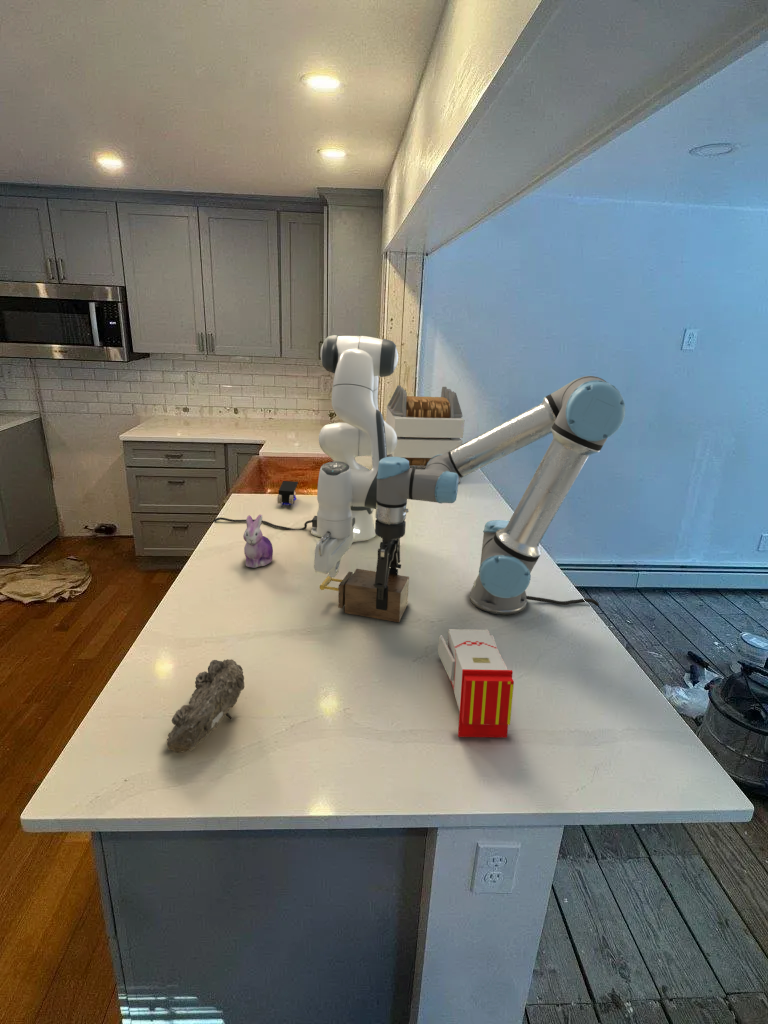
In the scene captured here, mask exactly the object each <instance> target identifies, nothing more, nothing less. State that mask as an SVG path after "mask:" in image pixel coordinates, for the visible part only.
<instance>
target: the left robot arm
mask: <svg viewBox="0 0 768 1024" xmlns="http://www.w3.org/2000/svg"><path fill="white" fill-rule="evenodd" d="M319 352H320V354H319V355H320V356H319V357H320V361H321V364H322V368H323V369H324V370H325V371H326V372H329V373H332V374H334V376H333V381H332V389H331V407H332V408H331V409H332V410H333V412H334V414H335V415H336V416H337V417H338V418H339V420H341V421H342V422H333V423H328V424H325V425H323V427H321V429H320V431H319V433H318V444H319V447H320V449H321V450H322V452H323V453H324V454H325V455H326V456H328V457H329V458H330V459H331V460H332V461H327V462H326V463H323V464H322V465H321V466H320V469H319V472H318V479H317V491H316V492H317V493H316V500H317V503H318V509H317V512H316V515H314V516H313V517H312V519H310V520H307V521H305V522H304V526H303V527H301V528H291V527H287V526H284V525H283V526H282V525H278V524H277V525H276V524H274V523H271V522H268V521H266V520H263V519H262V522H261V524H265V525H267V526H270V527H273V528H276V529H282V530H286V531H304V530H306V529H307V528H308V524H311V527H312V528H311V530H310V533H311V536H315V537H319V538H320V539H319V540H318V541H317V543H316V544H315V546H314V547H315V548H314V557H313V560H314V561H313V570H314V572H315V573H317V574H322V575H323V574H324V575H327V574H328V576H329V577H332V578H336V576H337V575H338V574H339V573H340V565H341V560H342V558H343V557H344V555H345V554H346V553H347V552H348V551H349V549H351V548H352V544H353V543H357V542H365V541H368V540H372V539H373V538H375V537H376V536H377V535H376V533H375V523H374V513H373V512H374V510H376V500H377V475H378V465H379V461H380V460H381V459H383V458H385V457H387V455H389V454H391V453H392V452H393V451H394V450H395V448H396V445H397V435H396V432H395V430H394V429H393V428H392V427H391V426H390V425H388V424H387V423H386V420H384V416H383V414H382V412H381V411H380V410H379V381H380V380H379V378H386V377H390V376H391V375H393V374H394V372H395V370H396V368H397V367H398V363H399V352H398V349H397V345H396V343H395V342H394V341H392V340H390V339H387V338H383V339H381V338H378V337H374V336H366V335H360V336H359V335H339V334H334V335H333V334H332V335H328V336H327V337H325V339H324V340H323V343H322V344H321V347H320V351H319ZM357 457H369V458H370V457H371V465H372V468H371V469H369V468H368V467H366V466H364V465H362V464H360V463H359V462H358V461H356V458H357ZM246 520H247V519H231V518H227V517H216V518H214V519H213V520H212V523H215V522H217V521H226V522H229V523H230V522H231V523H246V522H247V521H246ZM253 521H255V519H253Z"/></svg>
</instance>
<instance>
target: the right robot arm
mask: <svg viewBox="0 0 768 1024" xmlns="http://www.w3.org/2000/svg"><path fill="white" fill-rule="evenodd" d="M625 416H626V403H625V400H624V397H623V395H622V393H621V391H619V389H618V388H617V387H616V386H615V385H613V384H612V383H609V382H608V381H606V380H605V379H603V378H602V377H599V376H595V375H584V376H581V377H579V378H576V379H573V380H572V381H570V382H568V383H567V384H565V385H564V386H562V387H560V388H559V389H557V390H555V391H553V392H551V393H550V394H548V395H546V396H544V397H543V400H542V402H541V403H540V404H538V405H536V406H534V407H532V408H530V409H528V410H526V411H524V412H522V413H520V414H518V415H516V416H514V417H513V418H511V419H508V420H507V421H504V422H502V423H501V424H499V425H497V426H495V427H492V428H491V429H488V430H487V431H485V432H483V433H481V434H480V435H478V436H476V437H473V438H472V439H469V440H468V441H466V442H464V443H462V445H460V446H458V447H456V448H454V449H452V450H451V451H449V452H446V453H444V454H439V455H436V456H434V457H433V458H431V459H430V460H429V462H428V463H427V465H426V466H425V467H424V468H423V469H422V468H421V469H420V468H413V467H410V466H409V461H408V460H407V459H405V458H400V457H385V458H383V459H381V460H380V461H379V465H378V475H377V500H376V509H375V523H374V528H375V533H376V535H375V536H377V537H379V538H380V539H382V540H381V541H380V544H379V548H377V561H376V570H375V572H376V577H375V584H373V586H374V587H375V588H377V595H376V609H380V610H385V611H386V610H387V599H388V586H387V582H388V576H389V574H394V575H399V569H401V568H402V564H401V538H403V537H404V536H405V534H406V524H407V522H406V519H407V513H409V508H407V504H408V500H412V501H419V502H420V501H421V502H429V503H438V504H454V503H455V502H456V501H457V497H458V490H459V483H458V481H459V479H460V480H461V479H462V478H464V477H465V476H467V475H469V474H472V473H473V472H476V471H477V470H480V469H482V468H483V467H485V466H488V465H490V464H491V463H494V462H496V461H497V460H500V459H502V458H504V457H506V456H508V455H510V454H513V453H514V452H516V451H519V450H520V449H523V448H524V447H526V446H529V445H530V444H532V443H534V442H536V441H539V440H541V439H543V438H545V437H547V436H549V435H551V434H552V439H551V440H552V441H551V442H550V444H549V446H548V447H547V450H546V451H545V453H544V455H543V457H542V459H541V460H540V463H539V464H538V466H537V468H536V470H535V472H534V474H533V475H532V478H531V479H530V481H529V483H528V485H527V487H526V489H525V491H524V493H523V495H522V497H521V498H520V500H519V502H518V504H517V506H516V508H515V509H514V511H513V513H512V515H511V518H510V519H509V520H505V519H495V520H494V519H493V520H489V521H487V522H485V523H484V527H483V531H482V532H483V536H482V544H481V545H482V546H481V554H480V564H479V568H478V575H477V577H476V578H475V580H474V581H473V584H472V586H471V589H470V592H469V593H470V594H469V601H470V602H471V603H472V605H473V606H474V607H476V608H477V609H479V610H481V611H484V612H486V613H491V614H494V615H501V616H503V615H504V616H509V615H515V614H519V613H521V612H523V611H524V610H525V609H526V607H527V601H535V602H542V603H549V604H554V605H557V606H567V605H573V604H574V605H575V604H581V603H582V604H583V603H591V604H594V606H597V607H598V606H599V607H600V603H599V602H598V601H597V600H595V599H594V598H589V597H587V598H586V597H585V598H578V599H570V600H564V601H562V600H555V599H551V598H546V597H538V596H531V595H527V592H526V590H527V589H528V587H529V585H530V582H531V577H532V576H531V572H532V571H533V569H534V567H535V566H536V564H537V562H538V560H539V559H540V557H541V555H542V551H541V548H540V543H541V541H542V540H543V538H544V536H545V534H546V533H547V531H548V529H549V527H550V526H551V524H552V523H553V520H554V518H555V517H556V515H557V514H558V511H559V510H560V508H561V506H562V504H563V503H564V501H565V499H566V497H567V496H568V494H569V493H570V490H571V489H572V487H573V485H574V483H575V481H576V479H577V478H578V476H579V474H580V473H581V471H582V469H583V467H584V465H585V464H586V463H587V461H588V459H589V457H590V456H591V455H594V454H597V453H600V451H601V450H602V448H603V446H604V445H605V443H606V441H607V440H608V438H610V437H612V436H613V435H614V434H616V432H618V430H619V429H620V428H621V426H622V425H623V423H624V420H625ZM583 599H584V600H585V601H586V602H585V601H584V600H583Z"/></svg>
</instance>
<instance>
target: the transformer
mask: <svg viewBox="0 0 768 1024" xmlns="http://www.w3.org/2000/svg"><path fill="white" fill-rule="evenodd" d="M440 393H441V394H440V396H415V395H414V396H413V395H412V396H411V395H407V394H408V393H407V390H406V389H404V388H403V387H402V385H399V384H398V385H397V386H396V388H395V390H394V392H393V394H392V395H391V398H390V400H389V402H388V404H387V405H386V413H385V414H386V415H385V422H386V423H387V424H388V425H390V426H391V427H392V428H393V429H394V430H395V432H396V435H397V445H396V448H395V450H394V451H393V452H392V453H391V454H389V455H387V457H400V458H405V459H407V460H408V461H409V466H411V467H412V466H413V467H415V466H416V467H417V466H418V467H426V465H427V463H428V462H429V460H430V459H431V458H433V457H434V456H436V455H439V454H444V453H446V452H449V451H451V450H452V449H454V448H456V447H458V446H460V445H462V444H464V443H463V442H464V441H463V440H462V439H463V438H464V431H465V430H464V429H465V419H464V418H463V411H462V408H461V405H460V402H459V398H458V395H457V392H455V391H453V390H452V389H451V388H447V386H442V387H441V392H440ZM459 483H461V478H460V479H459V481H458V484H459Z"/></svg>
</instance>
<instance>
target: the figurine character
mask: <svg viewBox="0 0 768 1024" xmlns="http://www.w3.org/2000/svg"><path fill="white" fill-rule="evenodd" d="M298 483H299V481H292V480H282V482H281V485H280V487H279V489H278V493H277V498H276V499H277V500H276V501H277V504H279V505H280V504H281V505H280V506H281V508H284V507H285V506H288V509H290V508H291V506H292V505H293V504H294V503H295V501H296V500H297V492H296V489H297V486H298Z"/></svg>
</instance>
